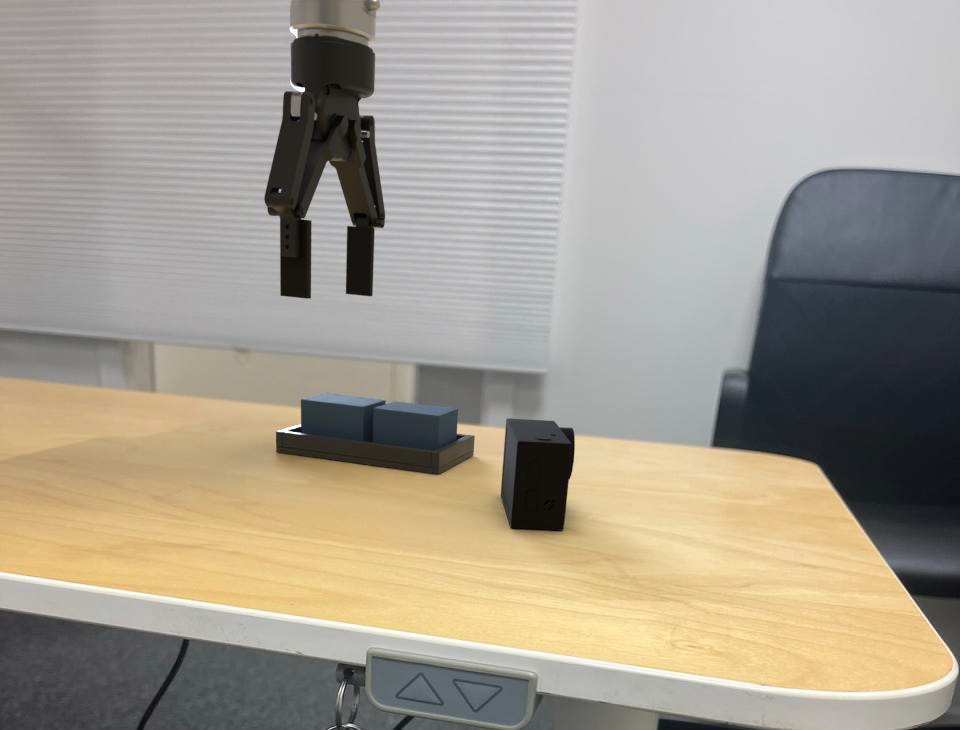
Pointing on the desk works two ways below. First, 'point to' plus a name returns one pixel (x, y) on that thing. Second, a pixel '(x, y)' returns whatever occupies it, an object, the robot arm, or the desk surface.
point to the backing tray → (375, 451)
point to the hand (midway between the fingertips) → (329, 296)
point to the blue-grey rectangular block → (339, 416)
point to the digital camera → (536, 473)
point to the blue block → (414, 425)
